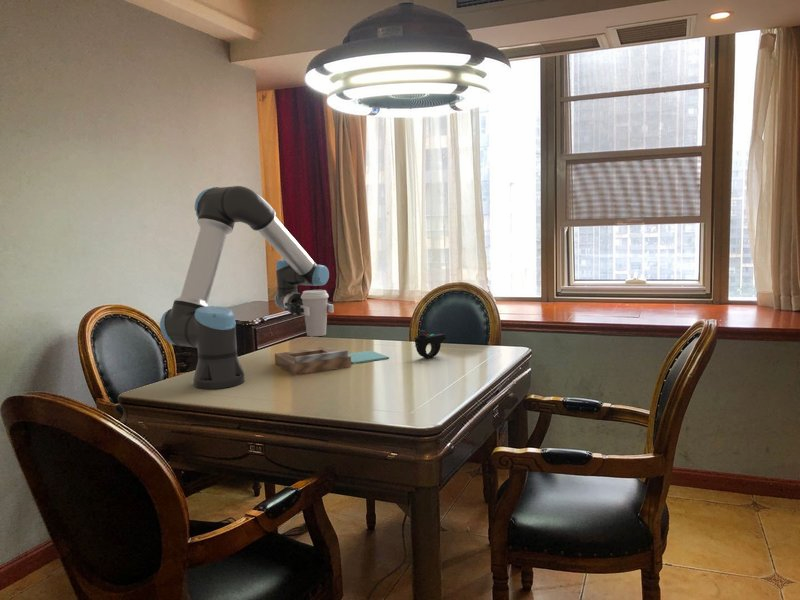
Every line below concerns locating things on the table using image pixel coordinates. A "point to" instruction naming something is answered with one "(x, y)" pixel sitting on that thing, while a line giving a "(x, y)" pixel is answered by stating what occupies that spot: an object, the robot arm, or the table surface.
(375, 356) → the pad
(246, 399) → the table surface
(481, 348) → the table surface
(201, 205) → the robot arm
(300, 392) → the table surface
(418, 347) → the controller
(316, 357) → the cup holder
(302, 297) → the coffee cup
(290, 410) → the table surface
